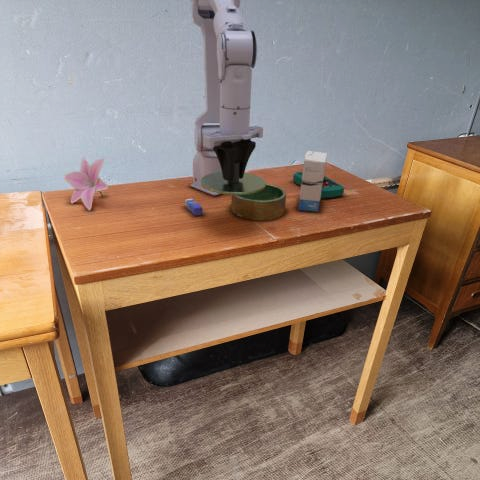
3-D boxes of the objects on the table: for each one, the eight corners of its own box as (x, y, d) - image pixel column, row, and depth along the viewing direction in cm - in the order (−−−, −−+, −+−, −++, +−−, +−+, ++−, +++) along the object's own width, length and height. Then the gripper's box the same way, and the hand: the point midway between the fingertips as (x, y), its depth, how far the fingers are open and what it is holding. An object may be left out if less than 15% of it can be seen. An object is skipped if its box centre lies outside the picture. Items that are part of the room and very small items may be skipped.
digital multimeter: (320, 200, 111) (321, 189, 109) (291, 181, 122) (292, 171, 120) (344, 197, 113) (346, 186, 112) (314, 179, 124) (315, 168, 123)
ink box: (318, 212, 104) (326, 161, 97) (297, 210, 105) (303, 159, 98) (320, 200, 111) (327, 151, 104) (300, 198, 111) (306, 149, 105)
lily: (67, 198, 109) (47, 169, 100) (109, 174, 111) (92, 143, 102) (87, 228, 104) (68, 200, 95) (130, 202, 105) (115, 172, 97)
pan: (220, 208, 104) (220, 190, 101) (256, 196, 111) (257, 179, 109) (258, 225, 97) (260, 205, 94) (294, 211, 104) (296, 193, 102)
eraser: (193, 206, 105) (193, 197, 103) (202, 215, 100) (202, 206, 99) (185, 207, 104) (185, 198, 103) (194, 216, 99) (193, 208, 98)
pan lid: (187, 184, 92) (186, 159, 89) (233, 172, 100) (234, 149, 97) (232, 203, 84) (233, 176, 81) (278, 188, 92) (281, 163, 89)
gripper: (221, 114, 77) (220, 191, 84) (276, 106, 85) (271, 176, 93) (195, 108, 81) (196, 182, 88) (250, 100, 89) (247, 168, 97)
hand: (233, 178), depth 91 cm, fingers closed on pan lid, 2 cm apart
